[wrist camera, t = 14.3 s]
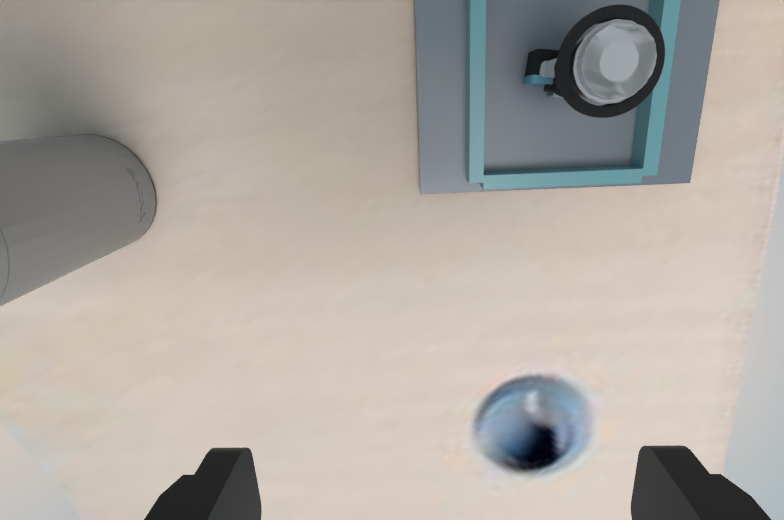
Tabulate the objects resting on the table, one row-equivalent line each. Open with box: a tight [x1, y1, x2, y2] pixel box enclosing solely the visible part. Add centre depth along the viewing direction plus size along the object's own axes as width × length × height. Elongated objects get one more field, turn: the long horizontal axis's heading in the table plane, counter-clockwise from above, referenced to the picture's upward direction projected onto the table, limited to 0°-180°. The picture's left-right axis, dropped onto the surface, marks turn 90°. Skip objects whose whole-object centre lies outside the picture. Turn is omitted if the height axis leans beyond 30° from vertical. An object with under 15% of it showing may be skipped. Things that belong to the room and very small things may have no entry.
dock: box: [415, 0, 719, 194], centre depth 31 cm, size 20×16×3 cm
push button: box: [523, 4, 665, 118], centre depth 27 cm, size 7×5×10 cm
